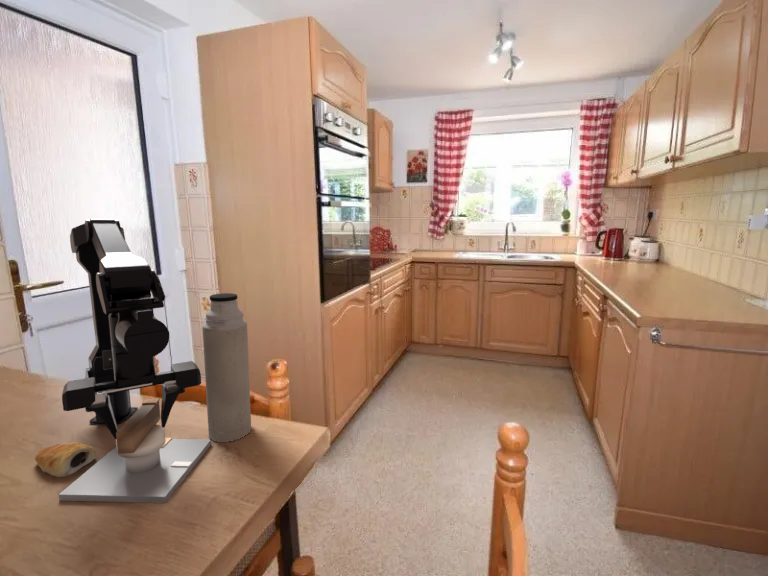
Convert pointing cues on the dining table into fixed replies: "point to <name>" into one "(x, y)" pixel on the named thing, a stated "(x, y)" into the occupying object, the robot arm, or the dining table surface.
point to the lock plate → (138, 474)
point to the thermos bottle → (226, 369)
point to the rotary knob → (141, 432)
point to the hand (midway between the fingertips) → (140, 432)
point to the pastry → (64, 458)
